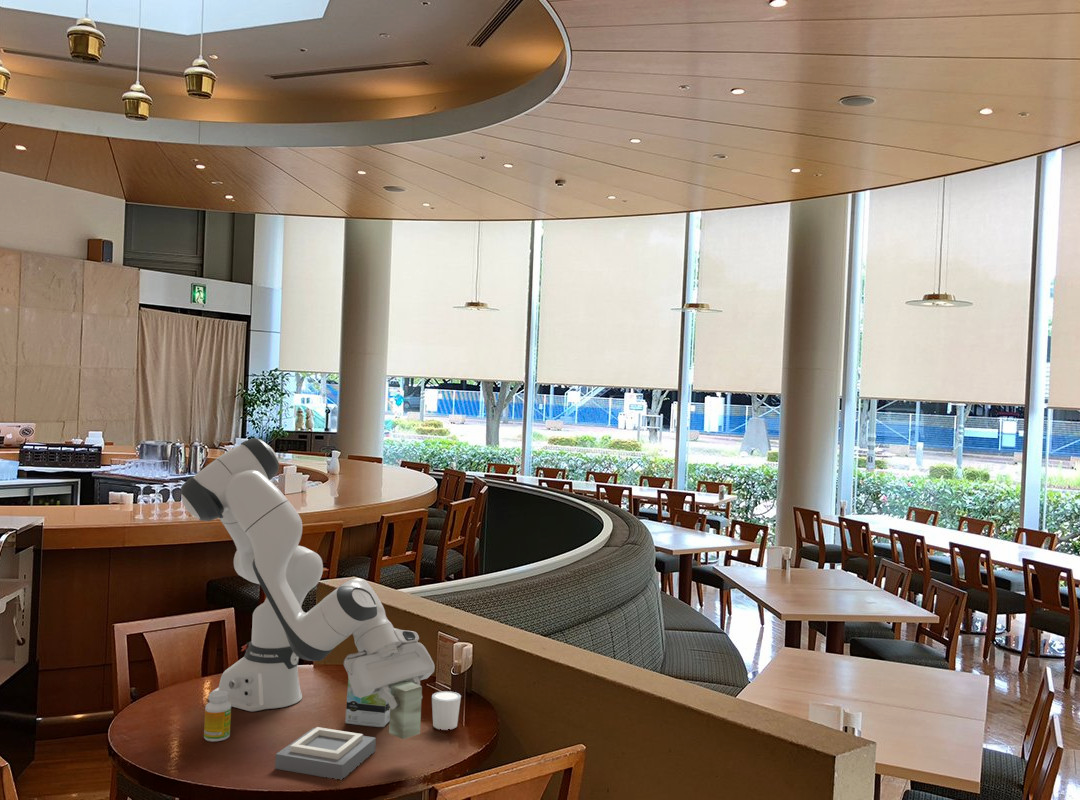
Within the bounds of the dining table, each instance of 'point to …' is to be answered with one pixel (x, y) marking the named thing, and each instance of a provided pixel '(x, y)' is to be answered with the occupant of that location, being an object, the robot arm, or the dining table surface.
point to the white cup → (445, 709)
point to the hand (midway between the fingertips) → (407, 703)
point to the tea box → (366, 709)
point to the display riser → (326, 753)
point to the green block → (406, 710)
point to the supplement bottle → (217, 717)
